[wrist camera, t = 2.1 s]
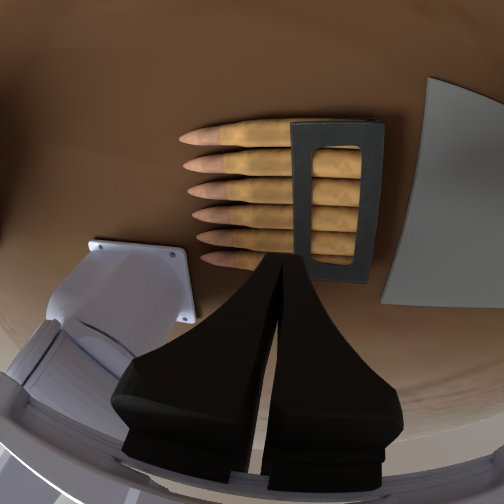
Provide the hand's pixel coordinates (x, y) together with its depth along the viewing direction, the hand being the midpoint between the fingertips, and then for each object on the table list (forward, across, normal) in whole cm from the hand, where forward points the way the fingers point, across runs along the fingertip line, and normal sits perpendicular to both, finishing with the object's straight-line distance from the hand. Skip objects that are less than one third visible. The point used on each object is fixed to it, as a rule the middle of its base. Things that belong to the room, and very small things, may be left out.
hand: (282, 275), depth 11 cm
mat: (+9, -15, 0) cm, 18 cm away
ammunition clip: (+8, -5, 0) cm, 9 cm away
